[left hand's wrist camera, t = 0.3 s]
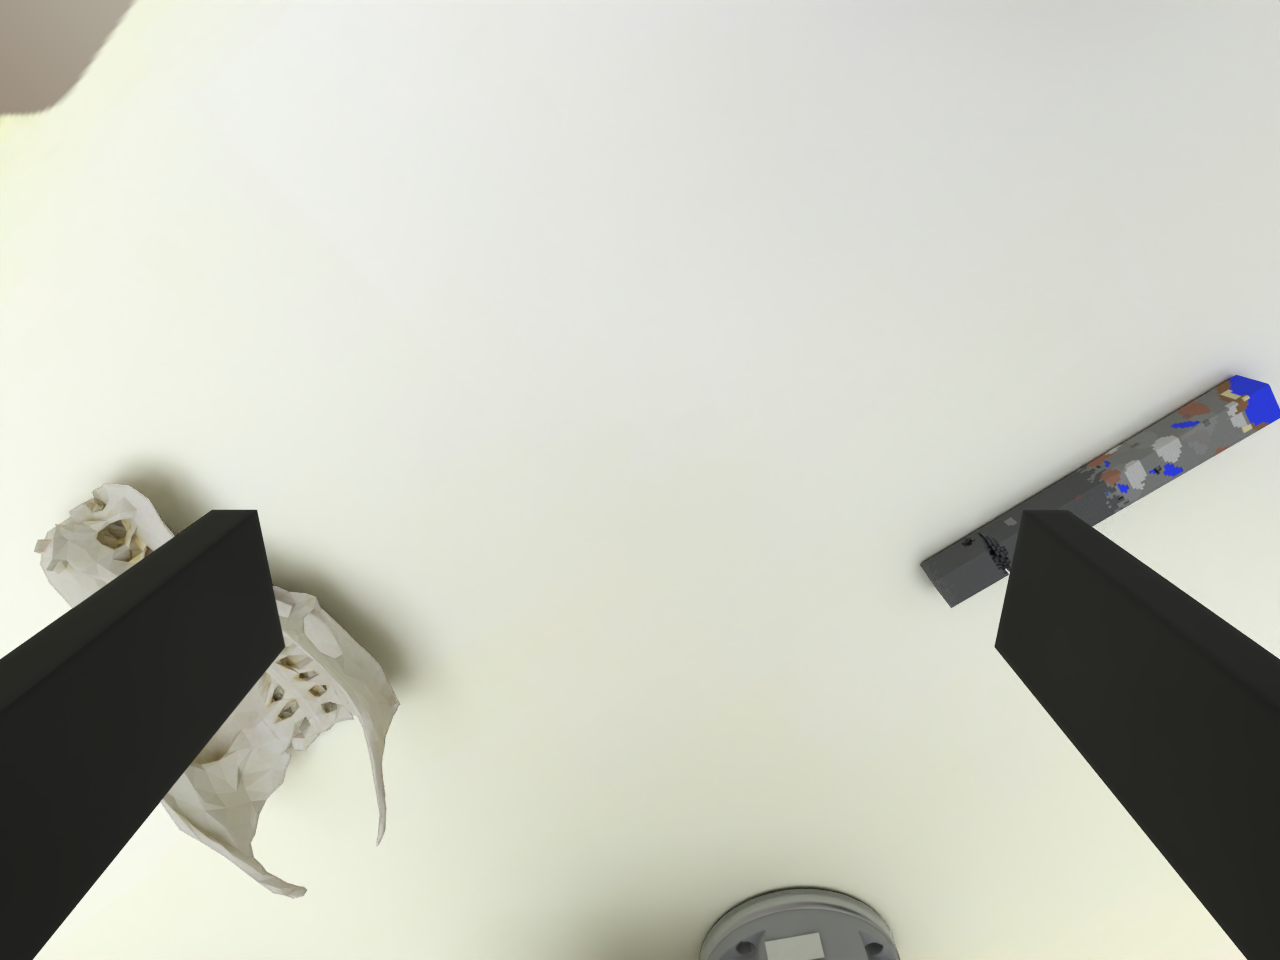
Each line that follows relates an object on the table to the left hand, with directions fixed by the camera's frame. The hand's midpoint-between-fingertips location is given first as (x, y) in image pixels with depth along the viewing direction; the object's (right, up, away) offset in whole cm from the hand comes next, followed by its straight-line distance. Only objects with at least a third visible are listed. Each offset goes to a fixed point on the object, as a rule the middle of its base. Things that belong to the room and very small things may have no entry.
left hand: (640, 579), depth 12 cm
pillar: (+26, +1, +29) cm, 39 cm away
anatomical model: (-24, -8, +33) cm, 42 cm away
